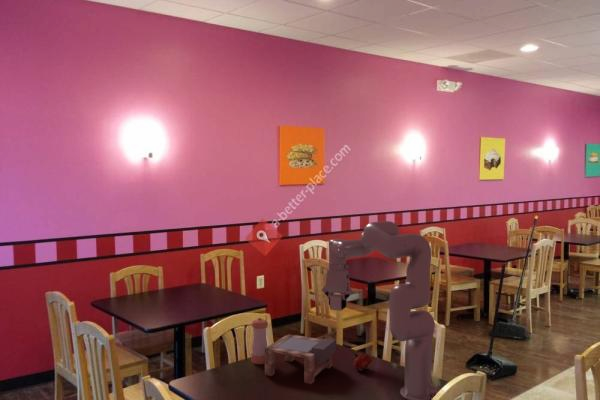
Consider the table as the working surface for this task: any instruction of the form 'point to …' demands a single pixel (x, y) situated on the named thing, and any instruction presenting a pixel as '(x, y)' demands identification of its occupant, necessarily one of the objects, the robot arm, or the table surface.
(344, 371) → the table surface
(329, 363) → the trapdoor frame
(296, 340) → the trapdoor
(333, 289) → the robot arm
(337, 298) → the granite stone
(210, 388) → the table surface
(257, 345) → the pepper shaker
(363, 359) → the pomegranate
